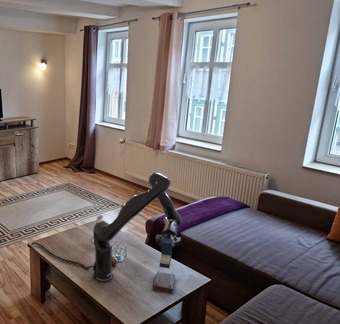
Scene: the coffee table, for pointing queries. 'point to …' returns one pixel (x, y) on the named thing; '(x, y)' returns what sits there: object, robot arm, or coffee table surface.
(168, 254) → the blue rectangular block
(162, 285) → the wooden base with rails
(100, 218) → the female figurine
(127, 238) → the coffee table surface
